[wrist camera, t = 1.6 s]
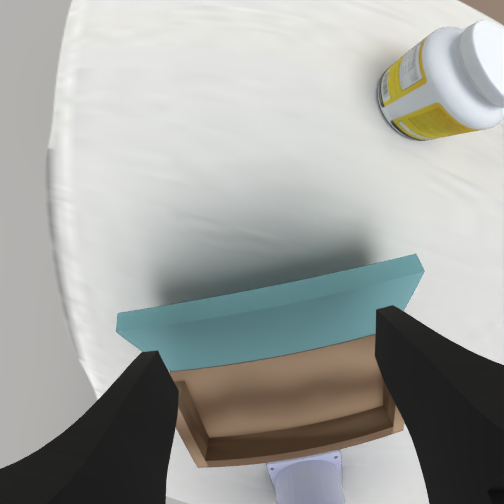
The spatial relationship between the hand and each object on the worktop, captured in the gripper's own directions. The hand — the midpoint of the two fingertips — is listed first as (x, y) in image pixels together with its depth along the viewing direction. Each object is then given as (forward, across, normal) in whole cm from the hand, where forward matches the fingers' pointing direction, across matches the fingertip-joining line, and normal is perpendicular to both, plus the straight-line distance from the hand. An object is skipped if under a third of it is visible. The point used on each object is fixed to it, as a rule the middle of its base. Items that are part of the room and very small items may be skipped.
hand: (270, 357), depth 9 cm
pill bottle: (+15, -14, -7) cm, 22 cm away
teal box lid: (+10, 0, +8) cm, 13 cm away
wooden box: (+11, 0, +14) cm, 18 cm away
